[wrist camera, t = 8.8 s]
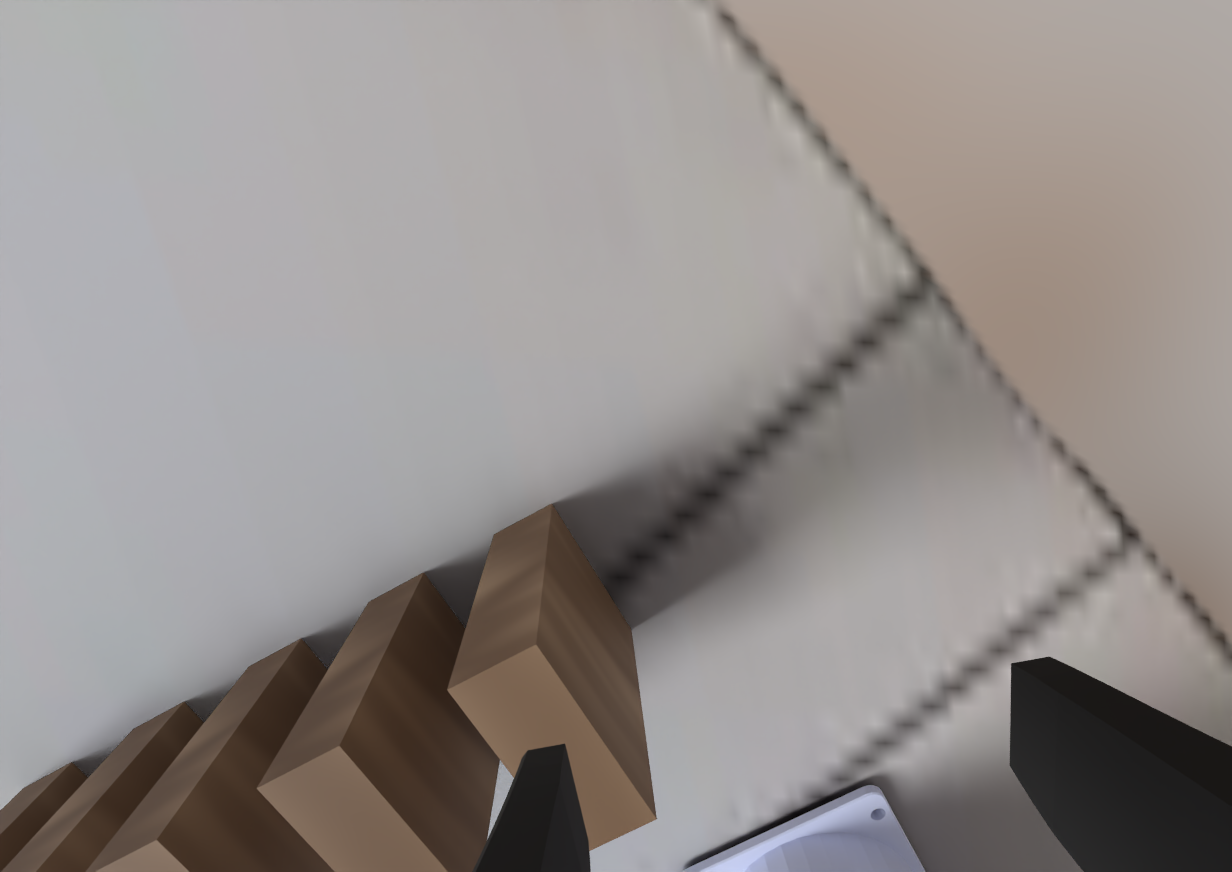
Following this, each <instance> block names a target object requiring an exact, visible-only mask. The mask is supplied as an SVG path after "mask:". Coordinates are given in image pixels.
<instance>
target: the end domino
mask: <svg viewBox="0 0 1232 872" xmlns="http://www.w3.org/2000/svg"><path fill="white" fill-rule="evenodd" d="M447 691H448V692H449V693H450V695H451V696H452V697H453V698H454V700H455V701H456V702H457V704H458V705H459V706H460V708H461V709H462V710H463V712H464V713H465V714H466V716H467V717H468V718H469V719H470V721H471V722H472V723H473V725H474V726H475V727H476V729H477V730H478V731H479V733H480V734H481V735H482V737H483V738H484V739H485V740H486V742H487V743H488V744H489V746H490V747H491V748H492V750H493V751H494V752H495V754H496V755H497V756H498V758H499V759H500V760H501V762H502V763H503V764H504V765H505V767H506V768H507V769H508V771H509V772H510V773H511V775H512V776H513V777H515V775H516V772H517V770H518V767H519V764H520V762H521V759H522V757H523V756H524V754H525V753H526V752H527V750H532V749H537V748H543V747H549V746H554V745H560V744H565V745H566V749H567V753H568V757H569V762H570V766H571V770H572V774H573V778H574V782H575V786H576V791H577V795H578V799H579V803H580V807H581V811H582V816H583V820H584V824H585V828H586V832H587V836H588V840H589V851H590V850H593V849H595V848H597V847H599V846H601V845H603V844H605V843H607V842H609V841H612V840H614V839H616V838H618V837H620V836H622V835H624V834H626V833H628V832H630V831H633V830H635V829H637V828H639V827H641V826H643V825H645V824H647V823H649V822H652V821H654V820H656V819H657V818H656V811H655V803H654V796H653V788H652V781H651V773H650V766H649V758H648V751H647V743H646V736H645V728H644V721H643V713H642V706H641V698H640V691H639V683H638V676H637V668H636V661H635V653H634V646H633V638H632V631H631V628H630V627H629V625H628V624H627V622H626V621H625V619H624V617H623V616H622V614H621V613H620V611H619V609H618V608H617V606H616V605H615V603H614V602H613V600H612V598H611V597H610V595H609V594H608V592H607V590H606V589H605V587H604V586H603V584H602V582H601V581H600V579H599V578H598V576H597V575H596V573H595V571H594V570H593V568H592V567H591V565H590V563H589V562H588V560H587V559H586V557H585V555H584V554H583V552H582V551H581V549H580V548H579V546H578V544H577V543H576V541H575V540H574V538H573V536H572V535H571V533H570V532H569V530H568V528H567V527H566V525H565V524H564V522H563V521H562V519H561V517H560V516H559V514H558V513H557V511H556V509H555V508H554V506H553V505H552V504H550V505H548V506H546V507H544V508H543V509H541V510H539V511H537V512H535V513H533V514H531V515H529V516H528V517H526V518H524V519H522V520H520V521H518V522H516V523H514V524H513V525H511V526H509V527H507V528H505V529H503V530H501V531H500V532H498V533H496V534H494V536H493V539H492V543H491V546H490V549H489V553H488V556H487V559H486V563H485V566H484V569H483V573H482V576H481V579H480V582H479V586H478V589H477V592H476V596H475V599H474V602H473V606H472V609H471V612H470V616H469V619H468V622H467V626H466V629H465V632H464V635H463V639H462V642H461V645H460V649H459V652H458V655H457V659H456V662H455V665H454V669H453V672H452V675H451V679H450V682H449V685H448V688H447Z"/></svg>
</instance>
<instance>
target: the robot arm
mask: <svg viewBox="0 0 1232 872" xmlns="http://www.w3.org/2000/svg"><path fill="white" fill-rule="evenodd" d="M1010 767H1011V768H1012V770H1013V772H1014V773H1015V775H1016V776H1017V778H1018V780H1019V781H1020V783H1021V784H1022V786H1023V788H1024V789H1025V791H1026V792H1027V794H1028V796H1029V797H1030V799H1031V800H1032V802H1033V803H1034V805H1035V806H1036V808H1037V809H1038V811H1039V813H1040V814H1041V816H1042V817H1043V819H1044V820H1045V822H1046V823H1047V825H1048V826H1049V828H1050V829H1051V831H1052V832H1053V833H1054V835H1055V836H1056V837H1057V839H1058V840H1059V841H1060V842H1061V844H1062V845H1063V846H1064V848H1065V849H1066V850H1067V851H1068V853H1069V854H1070V855H1071V856H1072V858H1073V859H1074V860H1075V861H1076V863H1077V864H1078V865H1079V866H1080V868H1081V869H1082V870H1083V871H1084V872H1232V747H1231V746H1229V745H1227V744H1225V743H1223V742H1221V741H1219V740H1217V739H1215V738H1213V737H1211V736H1209V735H1207V734H1205V733H1203V732H1201V731H1199V730H1197V729H1195V728H1193V727H1190V726H1188V725H1186V724H1184V723H1182V722H1180V721H1178V720H1176V719H1174V718H1172V717H1170V716H1168V715H1166V714H1164V713H1162V712H1160V711H1158V710H1156V709H1154V708H1152V707H1151V706H1149V705H1147V704H1145V703H1143V702H1141V701H1139V700H1137V699H1135V698H1133V697H1131V696H1129V695H1127V694H1125V693H1123V692H1121V691H1119V690H1117V689H1115V688H1113V687H1111V686H1109V685H1107V684H1105V683H1103V682H1101V681H1099V680H1097V679H1095V678H1093V677H1091V676H1089V675H1087V674H1085V673H1083V672H1081V671H1079V670H1077V669H1075V668H1073V667H1071V666H1068V665H1066V664H1064V663H1062V662H1060V661H1058V660H1056V659H1053V658H1051V657H1045V658H1039V659H1034V660H1028V661H1023V662H1017V663H1011V726H1010ZM875 809H876V810H875ZM472 872H590V855H589V840H588V836H587V832H586V828H585V824H584V820H583V816H582V811H581V807H580V803H579V799H578V795H577V791H576V786H575V782H574V778H573V774H572V770H571V766H570V762H569V757H568V753H567V749H566V745H565V744H560V745H554V746H549V747H543V748H537V749H532V750H527V752H526V753H525V754H524V756H523V757H522V759H521V762H520V764H519V767H518V770H517V772H516V775H515V777H514V780H513V782H512V785H511V787H510V790H509V792H508V795H507V797H506V799H505V802H504V804H503V806H502V809H501V811H500V813H499V815H498V818H497V820H496V822H495V825H494V827H493V829H492V831H491V834H490V836H489V838H488V840H487V842H486V844H485V846H484V848H483V850H482V852H481V854H480V857H479V859H478V861H477V863H476V865H475V867H474V869H473V871H472ZM682 872H926V871H925V870H924V868H923V866H922V864H921V862H920V860H919V859H918V857H917V855H916V853H915V851H914V849H913V848H912V846H911V844H910V842H909V840H908V838H907V837H906V835H905V833H904V831H903V829H902V827H901V825H900V824H899V822H898V820H897V818H896V816H895V814H894V813H893V811H892V809H891V807H890V805H889V803H888V802H887V800H886V798H885V796H884V794H883V792H882V791H881V789H880V788H879V787H877V786H874V785H867V786H863V787H861V788H859V789H857V790H854V791H852V792H850V793H848V794H846V795H844V796H842V797H839V798H837V799H835V800H833V801H831V802H829V803H826V804H824V805H822V806H820V807H818V808H816V809H814V810H811V811H809V812H807V813H805V814H803V815H801V816H798V817H796V818H794V819H792V820H790V821H788V822H786V823H783V824H781V825H779V826H777V827H775V828H773V829H770V830H768V831H766V832H764V833H762V834H760V835H758V836H755V837H753V838H751V839H749V840H747V841H745V842H742V843H740V844H738V845H736V846H734V847H732V848H730V849H727V850H725V851H723V852H721V853H719V854H717V855H714V856H712V857H710V858H708V859H706V860H704V861H702V862H699V863H697V864H695V865H693V866H691V867H689V868H686V869H685V870H683V871H682Z"/></svg>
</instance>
